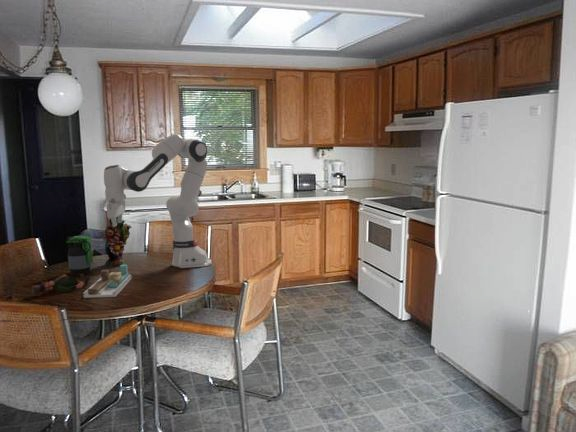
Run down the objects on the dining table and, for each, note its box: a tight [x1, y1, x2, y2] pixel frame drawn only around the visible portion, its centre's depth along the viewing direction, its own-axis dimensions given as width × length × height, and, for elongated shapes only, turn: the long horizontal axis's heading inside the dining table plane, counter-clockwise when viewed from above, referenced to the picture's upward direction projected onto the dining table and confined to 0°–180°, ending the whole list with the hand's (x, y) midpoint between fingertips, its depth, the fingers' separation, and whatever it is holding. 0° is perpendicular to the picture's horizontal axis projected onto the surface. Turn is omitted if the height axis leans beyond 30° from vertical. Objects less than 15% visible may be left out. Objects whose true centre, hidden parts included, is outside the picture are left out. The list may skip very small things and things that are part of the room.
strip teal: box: [109, 264, 130, 287], centre depth 227 cm, size 4×20×6 cm, turn 4°
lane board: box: [82, 274, 132, 299], centre depth 222 cm, size 14×28×2 cm, turn 4°
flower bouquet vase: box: [104, 217, 132, 268], centre depth 261 cm, size 15×15×30 cm
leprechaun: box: [31, 274, 90, 295], centre depth 217 cm, size 11×10×25 cm
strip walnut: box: [87, 269, 110, 294], centre depth 218 cm, size 4×20×6 cm, turn 4°
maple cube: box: [109, 271, 122, 284], centre depth 221 cm, size 4×4×4 cm
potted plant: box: [65, 235, 94, 276], centre depth 245 cm, size 11×13×20 cm
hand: (117, 224), depth 234 cm, fingers open, 8 cm apart
